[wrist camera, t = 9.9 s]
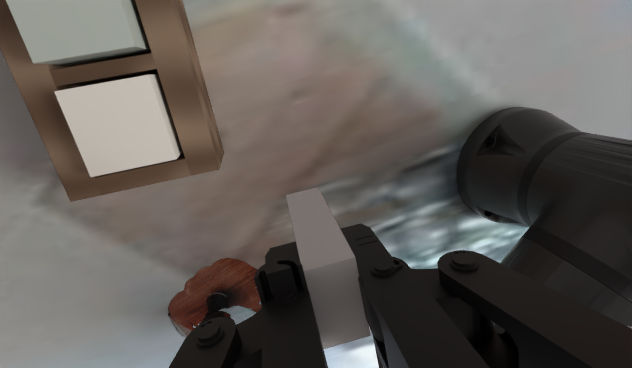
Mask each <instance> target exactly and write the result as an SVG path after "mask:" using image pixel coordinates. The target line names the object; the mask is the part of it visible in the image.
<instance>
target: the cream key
mask: <svg viewBox="0 0 632 368" xmlns="http://www.w3.org/2000/svg"><path fill="white" fill-rule="evenodd" d="M54 92H55V95H56V97H57V100H58V102H59V104H60V107H61V109H62V111H63V114H64V116H65V118H66V121H67V123H68V125H69V128H70V130H71V132H72V135H73V137H74V139H75V142H76V144H77V147H78V149H79V151H80V154H81V156H82V158H83V161H84V163H85V165H86V168H87V170H88V172H89V175H90V177H95V176H99V175H104V174H109V173H114V172H118V171H123V170H128V169H133V168H137V167H142V166H147V165H152V164H156V163H161V162H166V161H171V160H175V159H177V158H178V157H179V156H180V154H181V153H182V152H183V150H182V147H181V144H180V140H179V137H178V134H177V131H176V128H175V125H174V121H173V118H172V115H171V112H170V109H169V106H168V103H167V99H166V96H165V93H164V90H163V87H162V84H161V81H160V77H159V75H143V76H138V77H132V78H127V79H121V80H115V81H110V82H104V83H99V84H93V85H87V86H82V87H76V88H71V89H65V90H59V91H54Z"/></svg>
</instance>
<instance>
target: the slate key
mask: <svg viewBox="0 0 632 368" xmlns="http://www.w3.org/2000/svg"><path fill="white" fill-rule="evenodd" d="M6 2H7V4H8V6H9V9H10V11H11V13H12V16H13V18H14V20H15V23H16V25H17V27H18V29H19V32H20V34H21V36H22V39H23V41H24V43H25V46H26V48H27V50H28V53H29V55H30V57H31V59H32V62H33V63H34V64H54V65H73V64H79V63H84V62H90V61H96V60H102V59H108V58H114V57H120V56H126V55H131V54H137V53H143V52H149V51H151V49H150V46H149V43H148V40H147V36H146V33H145V30H144V27H143V24H142V21H141V17H140V14H139V11H138V8H137V5H136V2H135V0H6Z"/></svg>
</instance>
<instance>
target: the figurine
mask: <svg viewBox="0 0 632 368" xmlns="http://www.w3.org/2000/svg"><path fill="white" fill-rule="evenodd" d="M256 271H257V269H255V268H254V267H252V266H250V265H248V264H247V263H245V262H243V261H240V260H237V259H231V258H226V259H221V260H218V261H216V262H215V263H214V264H213V265H211V266H208V267H203V268H201V269H200V270H199V271H198V272H197V273H196V275H195V276H194V277H193V278H191V279H189V280H188V281H187V282H186V284H185V288H184V290H183V291H181V292H179V293H178V294H177V295H176V296H175V297H174V298H173V299H172V300H171V302H170V304H169V307H168V310H169V314H168V315H169V316H170V318H171V320H172V323H173V324H174V325H175V326H176V329H177V330H178V332H179V333H181V334H182V336H185V337H187V336H188V335H189V334H190V332H191V331H192V330H193V329H195V328H193V325H194V326H195V327H197V326H198V324H202V323H204V322H206V321H208V320H210V319H214V318H218V317H228V318H230V316H231V315H230V314H228V313H227V312H223V311H218V310H220V309H222V308H230V307H232V306H236V305H239V306H243V307H246V308H252V310H253V311H255V312H258V311H259V310H260V309H261V308H262V305H259V302H261V300H260V297H259V294H258V290H257V288H255V287H256V284H255V281H254V275H255V273H256ZM230 319H231V318H230ZM232 320H233V319H232ZM190 322H191V323H190ZM200 322H201V323H200Z"/></svg>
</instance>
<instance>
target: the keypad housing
mask: <svg viewBox="0 0 632 368" xmlns="http://www.w3.org/2000/svg"><path fill="white" fill-rule="evenodd" d="M135 2H136V5H137V8H138V11H139V14H140V17H141V21H142V24H143V27H144V30H145V33H146V36H147V40H148V43H149V46H150V49H151V51H149V52H143V53H137V54H131V55H126V56H120V57H114V58H108V59H102V60H96V61H90V62H84V63H79V64H73V65H54V64H34V63H33V62H32V59H31V57H30V55H29V53H28V50H27V48H26V46H25V43H24V41H23V39H22V36H21V34H20V32H19V29H18V27H17V25H16V23H15V20H14V18H13V16H12V13H11V11H10V9H9V6H8V4H7V2H6V0H0V49H1V51H2V53H3V55H4V58H5V60H6V62H7V64H8V66H9V68H10V71H11V73H12V75H13V77H14V79H15V82H16V84H17V86H18V88H19V90H20V92H21V95H22V97H23V99H24V101H25V103H26V105H27V108H28V110H29V112H30V114H31V116H32V119H33V121H34V123H35V125H36V127H37V129H38V132H39V134H40V136H41V138H42V140H43V143H44V145H45V147H46V149H47V151H48V153H49V156H50V158H51V160H52V162H53V164H54V167H55V169H56V171H57V173H58V175H59V177H60V180H61V182H62V184H63V186H64V188H65V191H66V193H67V195H68V197H69V199H70V201H76V200H81V199H85V198H90V197H94V196H99V195H104V194H108V193H113V192H117V191H122V190H127V189H131V188H136V187H141V186H145V185H150V184H154V183H159V182H164V181H168V180H173V179H177V178H182V177H187V176H191V175H196V174H200V173H205V172H210V171H214V170H219V168H220V165H221V162H222V158H223V155H224V150H223V147H222V143H221V139H220V136H219V132H218V128H217V125H216V121H215V118H214V114H213V110H212V107H211V103H210V99H209V96H208V92H207V88H206V85H205V81H204V77H203V74H202V70H201V67H200V63H199V59H198V56H197V52H196V48H195V45H194V41H193V37H192V34H191V30H190V26H189V23H188V19H187V16H186V12H185V8H184V5H183V1H182V0H135ZM143 75H159V77H160V81H161V84H162V87H163V90H164V93H165V96H166V99H167V103H168V106H169V109H170V112H171V115H172V118H173V121H174V125H175V128H176V131H177V134H178V137H179V140H180V144H181V147H182V150H183V152H182V153H181V154H180V156H179V157H178V158H177V159H175V160H171V161H166V162H161V163H156V164H152V165H147V166H142V167H137V168H133V169H128V170H123V171H118V172H114V173H109V174H104V175H99V176H95V177H90V175H89V172H88V170H87V168H86V165H85V163H84V161H83V158H82V156H81V154H80V151H79V149H78V147H77V144H76V142H75V139H74V137H73V135H72V132H71V130H70V128H69V125H68V123H67V121H66V118H65V116H64V114H63V111H62V109H61V107H60V104H59V102H58V100H57V97H56V95H55V92H54V91H59V90H65V89H71V88H76V87H82V86H87V85H93V84H99V83H104V82H110V81H115V80H121V79H127V78H132V77H138V76H143Z"/></svg>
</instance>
